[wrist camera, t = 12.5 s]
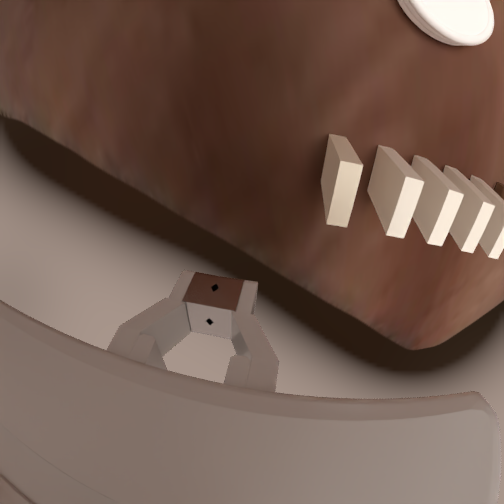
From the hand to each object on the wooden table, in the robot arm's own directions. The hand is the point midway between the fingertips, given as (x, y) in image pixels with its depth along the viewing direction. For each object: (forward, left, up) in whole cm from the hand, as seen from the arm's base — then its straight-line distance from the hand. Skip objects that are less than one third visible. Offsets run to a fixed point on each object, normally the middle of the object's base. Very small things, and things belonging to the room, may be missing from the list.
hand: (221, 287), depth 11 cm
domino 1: (+6, 0, -18) cm, 19 cm away
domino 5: (+23, 0, -18) cm, 29 cm away
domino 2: (+11, 0, -18) cm, 21 cm away
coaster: (+14, +20, -18) cm, 31 cm away
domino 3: (+15, 0, -18) cm, 23 cm away
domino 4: (+19, 0, -18) cm, 26 cm away
